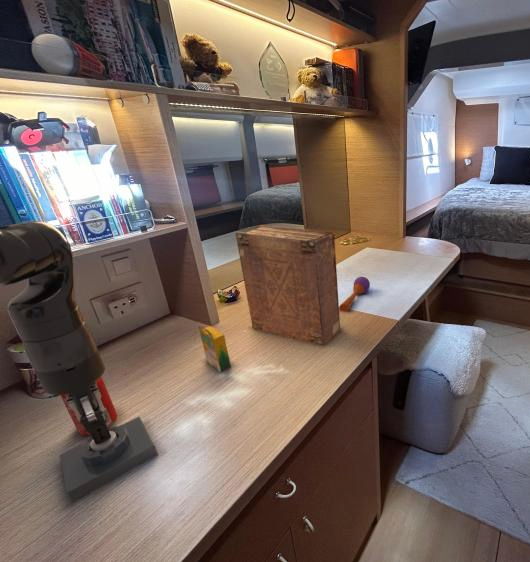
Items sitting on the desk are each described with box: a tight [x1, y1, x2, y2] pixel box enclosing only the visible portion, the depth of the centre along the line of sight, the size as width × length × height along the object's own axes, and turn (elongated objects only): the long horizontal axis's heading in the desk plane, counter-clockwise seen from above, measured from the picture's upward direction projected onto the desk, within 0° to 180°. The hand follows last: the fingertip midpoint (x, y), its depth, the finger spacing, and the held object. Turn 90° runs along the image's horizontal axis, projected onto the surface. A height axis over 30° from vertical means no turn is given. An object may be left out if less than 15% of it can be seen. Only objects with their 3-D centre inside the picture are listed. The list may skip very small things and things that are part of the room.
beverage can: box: [60, 375, 118, 436], centre depth 66 cm, size 6×6×12 cm
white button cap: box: [90, 431, 118, 452], centre depth 59 cm, size 4×4×2 cm
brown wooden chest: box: [235, 224, 341, 347], centre depth 95 cm, size 25×9×30 cm, turn 66°
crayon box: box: [197, 323, 232, 373], centre depth 84 cm, size 7×3×12 cm, turn 50°
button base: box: [59, 416, 159, 503], centre depth 59 cm, size 12×10×5 cm
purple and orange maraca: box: [339, 276, 371, 312], centre depth 119 cm, size 6×6×20 cm
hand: (103, 439), depth 58 cm, fingers closed
